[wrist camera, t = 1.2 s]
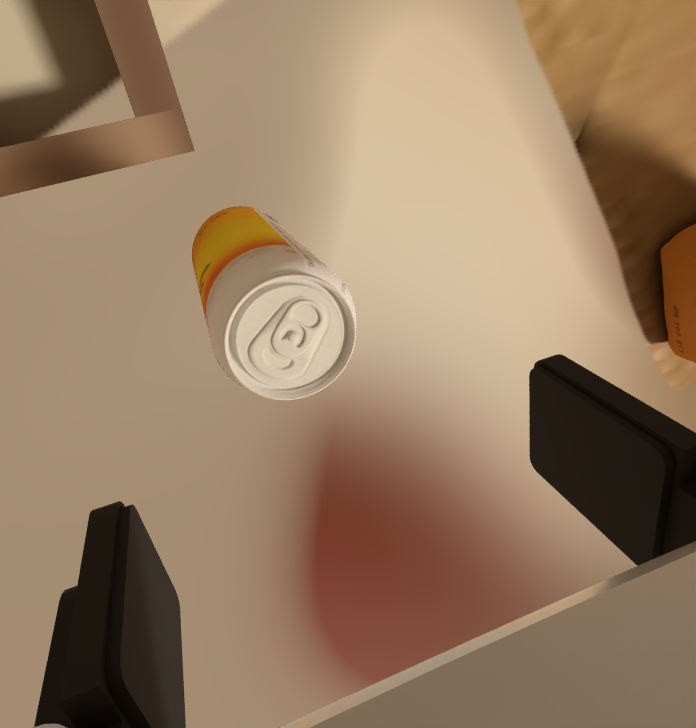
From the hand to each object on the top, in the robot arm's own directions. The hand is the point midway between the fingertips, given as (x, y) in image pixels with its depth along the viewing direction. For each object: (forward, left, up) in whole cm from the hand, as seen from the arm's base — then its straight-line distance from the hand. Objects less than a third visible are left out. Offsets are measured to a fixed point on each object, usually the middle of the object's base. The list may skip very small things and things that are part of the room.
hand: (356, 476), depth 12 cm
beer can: (-1, +1, -25) cm, 25 cm away
